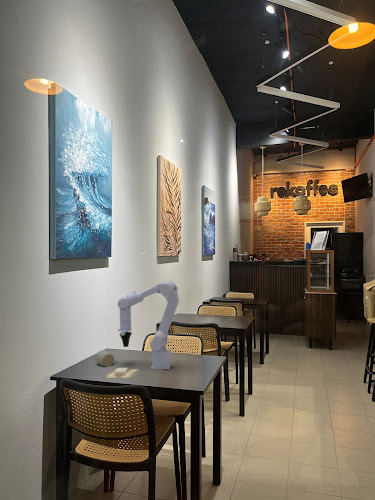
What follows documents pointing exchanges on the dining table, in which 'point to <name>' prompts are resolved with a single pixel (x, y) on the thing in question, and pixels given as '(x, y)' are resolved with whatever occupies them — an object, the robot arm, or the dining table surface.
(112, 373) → the board
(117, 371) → the tile
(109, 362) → the ceramic mug
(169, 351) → the robot arm
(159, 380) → the dining table surface
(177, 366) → the dining table surface
